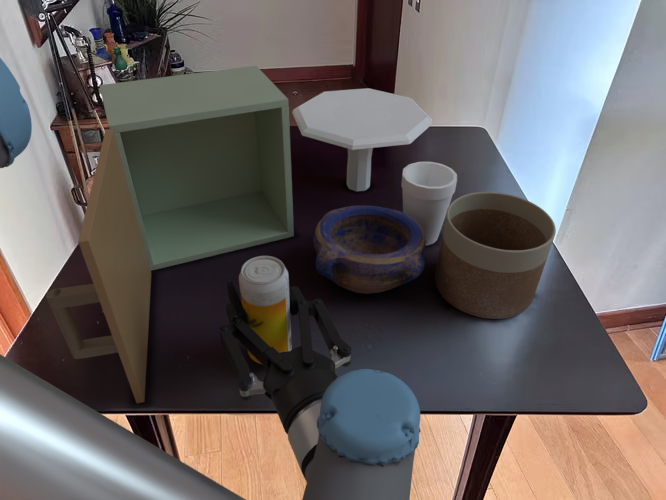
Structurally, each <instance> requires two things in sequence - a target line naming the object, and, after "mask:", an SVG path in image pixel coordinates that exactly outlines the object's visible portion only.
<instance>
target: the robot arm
mask: <svg viewBox="0 0 666 500" xmlns="http://www.w3.org/2000/svg"><path fill="white" fill-rule="evenodd" d="M32 127H33V123H32V117H31V112H30V107H29V104H28V102H27V101H26V99H25V98H24V96H23V94H22V93H21V86H20V85H19V82H18V81H17V79H16V78H15V75H14V74H13V73H12V71H11V70H10V68H9V67H8V65H6V62H5V61H4V60H3V59H2V58H1V57H0V169H5V168H8V167H10V166H11V165H12V164H14V162H15V159H16V158H17V157H18V156H19V155H22V153H23V152H24V151H25V150H26V149H27V147H28V145H29V143H30V141H31V137H32V131H33V128H32ZM226 287H227V292H228V299H229V301H230V303H228V304H226V307H225V310H226V316H227V318H228V321H229V324H228V325H227V324H223V325H220V326H219V328H218V330H219V336H220V341H221V342H220V343H221V346H222V348H223V350H224V352H225V354H226V356H227V359H228V361H229V363H230V366H231V367H232V369H233V371H234V374H235V376H236V378H237V380H238V382H237V383H238V390H239V395H240V399H241V401H243V402H247V401H250V400H251V398H252V396H254V395H264V396H265V397H266V398H268V399H269V400H270V401H271V402H272V403H273V406H274V408H275V411H276V414H277V416H278V419H279V420H280V423H281V425H282V428H283V431H284V432H285V434H286V435H287V440H288V444H289V445H290V448H291V450H292V453H293V454H294V457H295V459H296V462H297V464H298V467H299V469H300V472H301V474H302V476H303V479H304V480H305V483H306V484H305V488H304V491H303V495H302V499H301V500H411V499H410V498H411V490H412V489H411V488H412V478H413V469H414V461H415V455H416V454H415V453H416V449H417V448H418V447H419V443H420V433H421V428H420V424H421V410H420V404H419V401H418V399H417V397H416V396H415V394H414V391H412V389H411V387H409V386H408V385H407V383H405V382H404V381H403V380H402V379H400V378H399V377H397V376H395V375H394V374H392V373H390V372H387V371H381V370H379V369H370V368H359V369H354V370H350V371H347V372H345V373H343V374H341V375H340V376H338V375H337V374H336V369H338V368H339V367H341V366H342V367H345V368H346V367H350V366H351V363H352V347H351V346H350V345H349V344H348V343H347V342H346V341H344V339H342V338H341V336H340V334H339V331H338V329H337V328H336V325H335V324H334V321H333V319H332V318H331V315H330V313H329V311H328V309H327V307H326V305H325V303H324V301H323V299H321V298H320V297H319V298H315V299H313V300H307V299H306V298H305V297H304V294H303V293H302V292H301V290H300V288H299V287H298V286H297V285H293V286H291V285H290V284H289V298H290V315H291V316H296V315H298V323H299V325H298V327H299V339H300V346H297V347H294V348H293V349H291V351H287V352H281V353H279V352H278V351H277V350H276V349H275V348H274V347H270V346H269V345H268V344H267V343H266V342H265V341H264V340H263V339H262V338H261V337H260V336H259V335H258V334H257V333H256V332H255V331H253V330H252V329H251V328H250V327H249V326H248V325H247V318H246V312H245V310H244V308H243V306H242V301H241V297H240V296H239V294H238V291H237V288H236V287H235V285H234V282H233V281H229V282H226ZM310 316H311V317H313V318H314V321H315V323H316V325H317V327H318V329H319V331H320V334H321V336H322V338H323V339H324V342H325V344H326V346H327V349H328V351H329V357H328V356H326V355H323V354H322V353H320V352H317V351H315V350H313V341H312V333H311V323H310ZM236 339H237V340H236ZM237 341H238V342H239V343H240V344H241V345H242V346H243V347H244V348H245V349H246V350H247V352H248V351H249V352H250V353H251V354H252V355H253V356H254V357H255V358H256V359H257V360H258V361H259V362H260V363H261V364H260V365H262V367H263V368H264V370H265V372H266V374H265V376H264V378H263V380H262V381H261V380H259V378H258V376H257V375H255V373H254V372H251V371H250V367H249V364H248V362H247V360H246V358H245V356H244V355H243V352H242V351H241V348H240V347H239V345H238V343H237ZM0 500H247V499H246V498H244V497H242V496H241V495H239V494H238V493H236V492H234V491H232V490H231V489H229V488H228V487H226V486H224V485H222V484H221V483H219V482H217V481H215V480H213V479H212V478H210V477H209V476H207V475H205V474H203V473H202V472H200V471H198V469H195V468H193V467H192V466H190V465H188V464H187V463H185V462H183V461H182V460H180V459H178V458H176V457H175V456H173V455H171V454H170V453H168V452H166V451H164V450H163V449H162V448H160V447H158V446H156V445H155V444H153V443H152V442H150V441H148V440H146V439H145V438H143V437H141V436H139V435H138V434H136V433H134V432H132V431H131V430H129V429H128V428H126V427H124V426H122V425H121V424H119V423H118V422H116V421H114V420H113V419H111V418H109V417H107V416H105V415H103V414H102V413H101V412H98V411H97V410H96V409H93V408H92V407H90V406H89V405H87V404H85V403H84V402H83V401H80V400H78V399H77V398H75V397H74V396H72V395H70V394H68V393H66V392H65V391H63V390H62V389H60V388H58V387H56V386H55V385H53V384H51V383H50V382H48V381H46V380H44V379H43V378H41V377H39V376H38V375H36V374H35V373H33V372H31V371H29V370H27V369H26V368H25V367H22V365H19V364H18V363H16V362H14V361H13V360H11V359H10V358H7V357H6V356H4V355H2V354H0Z"/></svg>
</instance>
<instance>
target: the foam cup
mask: <svg viewBox="0 0 666 500" xmlns="http://www.w3.org/2000/svg"><path fill="white" fill-rule="evenodd" d="M400 183H401V185H400V186H401V188H402V189H401V191H402V212H403V213H404V214H406V215H408V216H409V217H411V218H412V219H413V220H415V221H416V222H417V223H418V224H419V225H420V227H421V228H422V230H423V232H424V236H425V240H426V244H425V246H430V245H433V244H435V243H436V242H437V241H438V239H439V236H440V234H441V231H442V227H443V226H444V223H445V217H446V212H447V209H448V207H449V205H450V204H451V202H452V198H453V196H454V194H455V193H456V188H457V183H458V174H457V172H456V171H454V169H453V168H451V167H449V166H447V165H445V164H444V163H439V162H435V161H417V162H413V163H408V164H407V165H406V166H405V167H403V168H402V175H401V182H400Z"/></svg>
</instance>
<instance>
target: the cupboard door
mask: <svg viewBox="0 0 666 500" xmlns="http://www.w3.org/2000/svg"><path fill="white" fill-rule="evenodd" d="M77 242H78V246H79V248H80V251H81V254H82V257H83V259H84V262H85V266H86V268H87V271H88V274H89V277H90V278H91V282H92V283H87V284H80V285H72V286H66V287H59V288H53V289H50V290H48V291H47V292H46V295H45V298H46V300H47V302H48V305H49V307H50V309H51V312H52V313H53V316H54V318H55V320H56V322H57V325H58V328H59V329H60V331H61V333H62V336H63V337H64V341H65V342H66V345H67V347H68V349H69V352H70V354H71V356H72V358H73V359H75V360H82V359H88V358H93V357H94V358H95V357H99V356H106V355H111V354H118V356H119V358H120V361H121V364H122V367H123V370H124V372H125V375H126V378H127V381H128V383H129V386H130V389H131V392H132V395H133V398H134V400H135V403H136V404H142V403H145V401H146V383H147V381H146V379H147V363H148V362H147V361H148V342H149V326H150V325H149V324H150V308H151V289H152V288H151V287H152V271H151V270H150V266H149V263H148V259H147V255H146V251H145V247H144V244H143V240H142V236H141V232H140V229H139V225H138V221H137V217H136V214H135V210H134V206H133V202H132V199H131V195H130V191H129V187H128V184H127V180H126V176H125V172H124V168H123V165H122V161H121V157H120V153H119V150H118V146H117V142H116V138H115V135H114V131H113V129H109V128H108V129H107V128H106V129H105V130H104V135H103V138H102V144H101V147H100V150H99V155H98V159H97V163H96V167H95V171H94V175H93V180H92V184H91V188H90V192H89V196H88V200H87V205H86V209H85V213H84V216H83V221H82V225H81V229H80V233H79V237H78V241H77ZM97 303H99V304H100V306H101V309H102V311H103V315H104V317H105V320H106V323H107V325H108V328H109V331H110V334H111V335H105V336H100V337H99V336H98V337H93V338H85V339H83V338H82V336H81V334H80V332H79V329H78V327H77V325H76V322H75V320H74V318H73V314H72V312H71V310H70V308H71V307H77V306H84V305H91V304H97Z"/></svg>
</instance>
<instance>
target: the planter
mask: <svg viewBox="0 0 666 500" xmlns="http://www.w3.org/2000/svg"><path fill="white" fill-rule="evenodd" d="M556 230H557V228H556V224H555V222H554V220H553V219H552V217H551V216H550V215H549V214H548V213H547V212H546V211H545V210H544V209H543V208H542V207H540V206H539V205H537V204H535V203H533V202H531V201H530V200H527V199H525V198H522V197H519V196H516V195H514V194H509V193H503V192H495V191H477V192H470V193H467V194H464V195H461V196H459V197H457V198H455V199H454V200H453V201H451V202H450V204H449V207H448V209H447V212H446V216H445V219H444V222H443V229H442V235H441V240H440V245H439V252H438V258H437V262H436V267H435V273H434V283H435V286H436V289H437V291H438V293H439V294H440V295H441V297H442V298H443V299H444V300H445V301H446V302H447V303H448V304H449V305H450V306H452V307H454V308H455V309H457V310H459V311H461V312H463V313H466V314H468V315H470V316H474V317H478V318H483V319H491V320H492V319H493V320H497V319H498V320H499V319H500V320H501V319H508V318H513V317H516V316H518V315H520V314H523V312H525V311H526V310H527V309H529V307H530V306H531V304H532V303H533V300H534V298H535V294H536V292H537V289H538V286H539V283H540V280H541V278H542V275H543V272H544V268H545V266H546V263H547V260H548V257H549V254H550V251H551V249H552V246H553V243H554V239H555V237H556V233H557V231H556Z"/></svg>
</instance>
